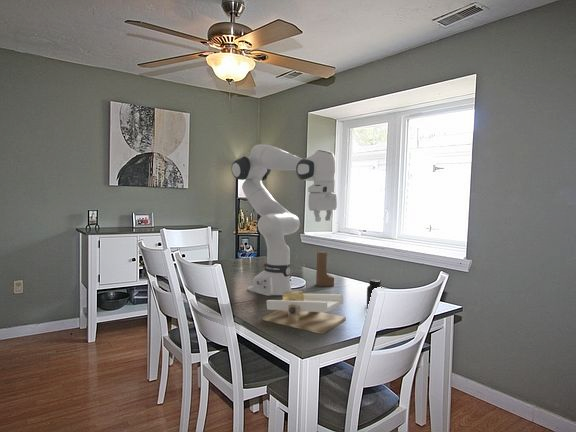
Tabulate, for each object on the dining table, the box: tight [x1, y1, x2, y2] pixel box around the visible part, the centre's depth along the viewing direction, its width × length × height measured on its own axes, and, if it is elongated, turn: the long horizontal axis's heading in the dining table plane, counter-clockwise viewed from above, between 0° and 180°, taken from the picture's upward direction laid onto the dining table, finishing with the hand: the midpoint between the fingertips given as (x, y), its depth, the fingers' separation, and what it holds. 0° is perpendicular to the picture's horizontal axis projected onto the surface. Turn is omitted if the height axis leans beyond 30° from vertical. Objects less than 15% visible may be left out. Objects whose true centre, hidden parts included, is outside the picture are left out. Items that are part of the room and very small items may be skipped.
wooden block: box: [315, 250, 335, 287], centre depth 214 cm, size 9×4×18 cm, turn 97°
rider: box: [281, 290, 304, 301], centre depth 158 cm, size 6×6×4 cm
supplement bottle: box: [366, 278, 383, 308], centre depth 175 cm, size 7×7×12 cm
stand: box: [261, 304, 347, 335], centre depth 155 cm, size 26×20×8 cm
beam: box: [266, 293, 344, 313], centre depth 155 cm, size 26×14×4 cm, turn 58°
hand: (322, 221), depth 170 cm, fingers open, 8 cm apart
